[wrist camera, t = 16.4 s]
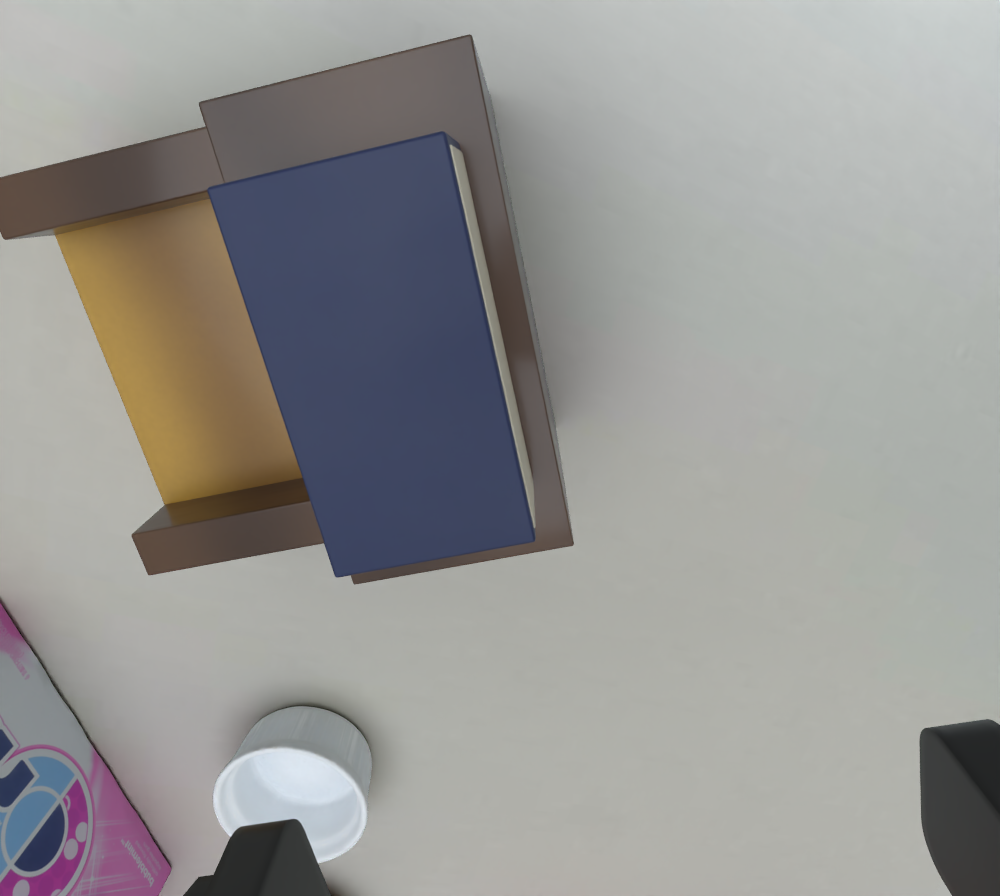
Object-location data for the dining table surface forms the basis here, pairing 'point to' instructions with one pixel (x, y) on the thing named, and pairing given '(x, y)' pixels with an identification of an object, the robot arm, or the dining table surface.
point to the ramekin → (300, 778)
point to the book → (384, 351)
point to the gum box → (61, 796)
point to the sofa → (220, 306)
